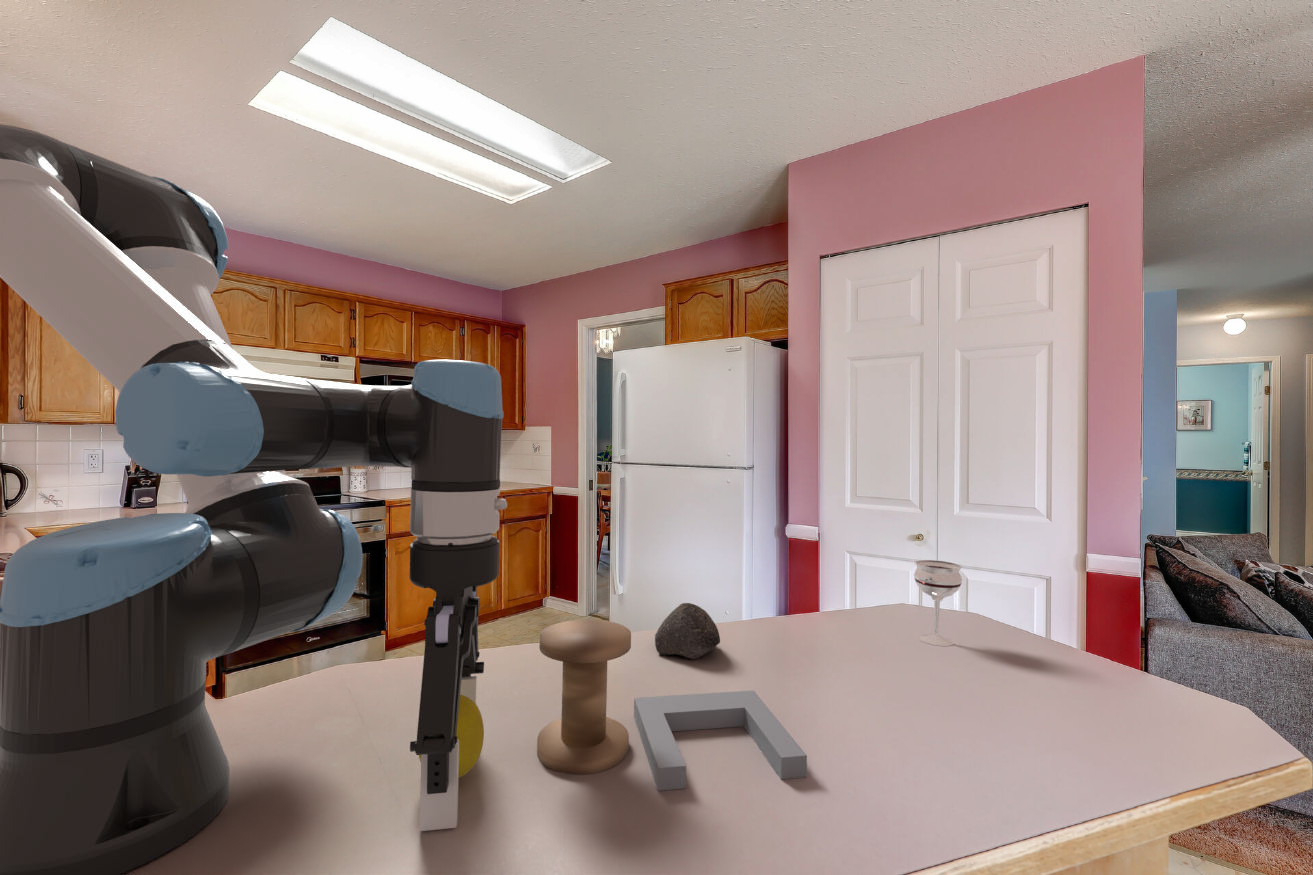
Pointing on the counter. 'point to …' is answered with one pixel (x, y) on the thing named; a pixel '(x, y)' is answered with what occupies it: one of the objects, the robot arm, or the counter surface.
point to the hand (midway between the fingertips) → (451, 780)
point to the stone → (687, 632)
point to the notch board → (707, 713)
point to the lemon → (468, 734)
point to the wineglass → (937, 589)
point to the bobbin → (584, 697)
